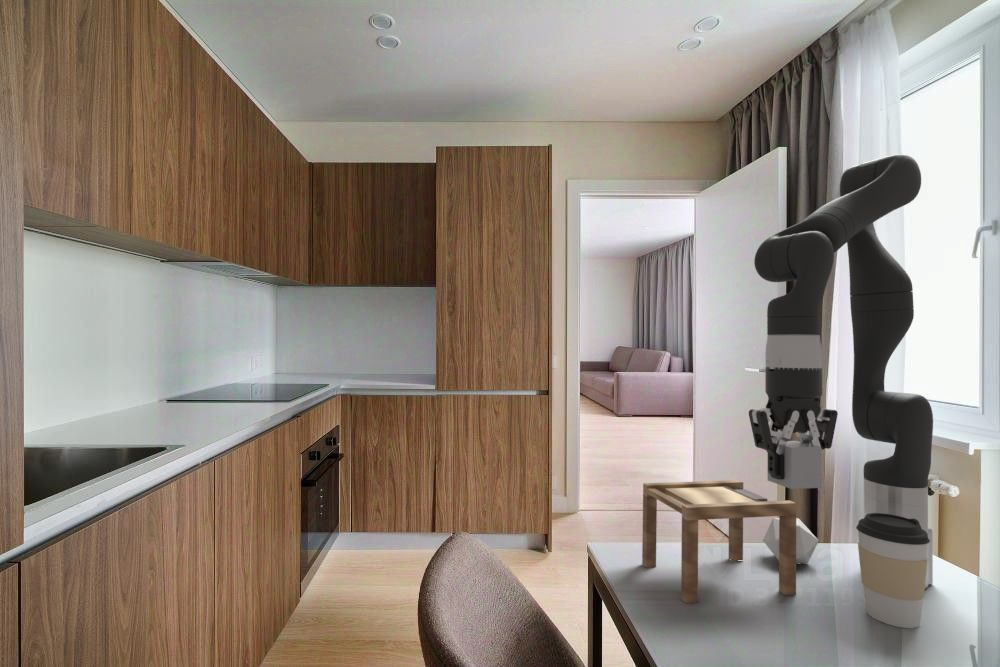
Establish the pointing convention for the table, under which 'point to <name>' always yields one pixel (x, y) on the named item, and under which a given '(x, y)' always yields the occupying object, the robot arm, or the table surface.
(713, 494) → the trapdoor
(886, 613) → the coffee cup
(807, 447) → the grey block
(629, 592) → the table surface
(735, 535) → the frame
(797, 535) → the die
